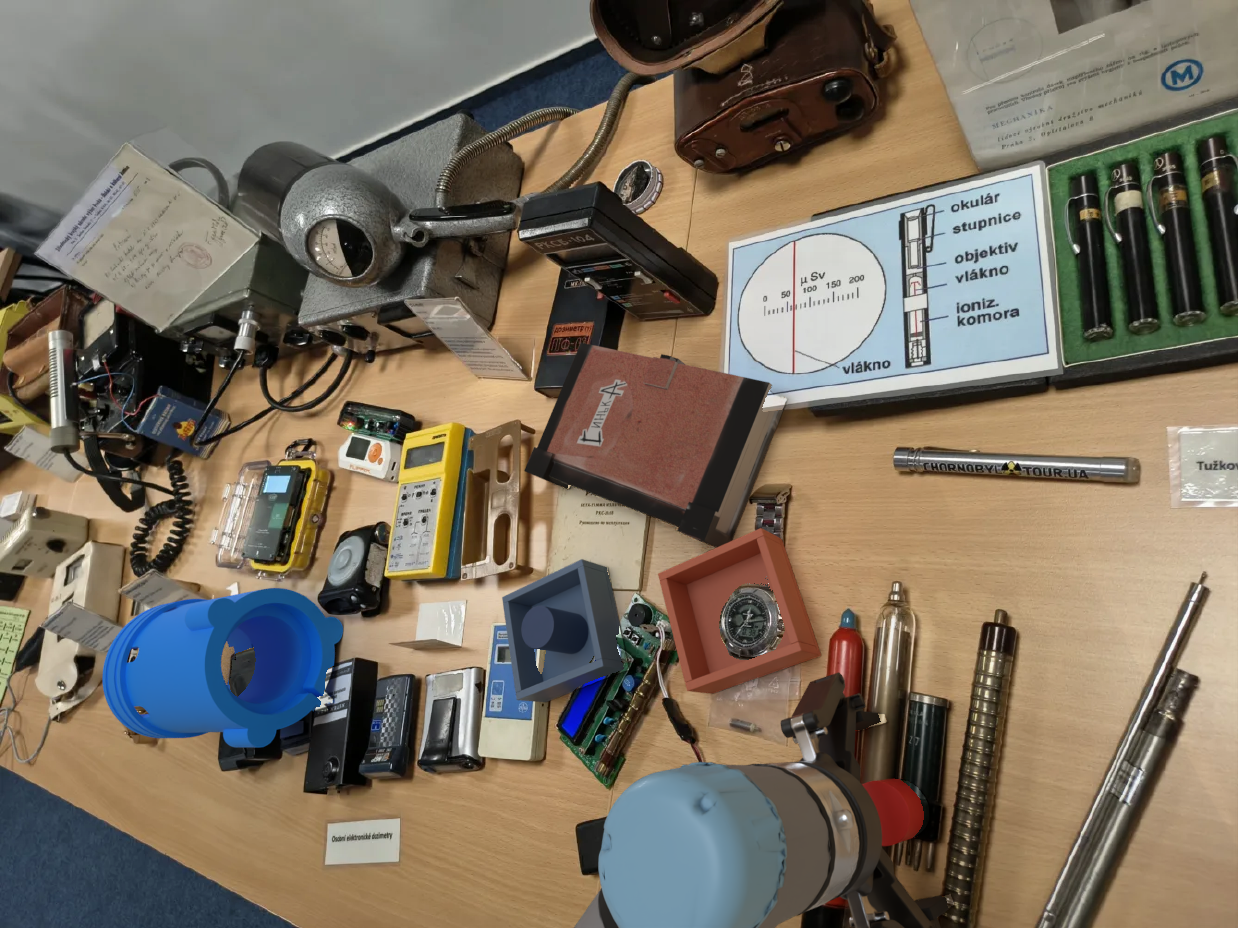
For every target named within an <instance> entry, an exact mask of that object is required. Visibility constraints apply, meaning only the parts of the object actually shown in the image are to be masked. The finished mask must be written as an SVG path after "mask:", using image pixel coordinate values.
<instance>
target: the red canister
mask: <svg viewBox="0 0 1238 928" xmlns="http://www.w3.org/2000/svg"><path fill="white" fill-rule="evenodd" d="M900 779H901V778H899V779H895V778H887V779H879V780H871V781H870V780H869V781H867V782H865V783H861V784H862V785H863V787H864V788H865V789H866V790H867V792H868V793H869V795H870V797H871V798H872V800H873V802H874V804H875V806H876V809H877V812H878V815H879V818H880V822H881V828H882V847H890V846H894V845H896V844H900V843H902V842H905V841H908V840H911V839H914V838H915V837H914V836H915V835H916V834H917V833H918V832H919V830H920V829H921V827H922V825H923V820H924V811H923V806H922V804H921V800H920V798H919V797H918V796H917V794H916V793H915V792H914V791H913V790H912V789H911V788H910V786H908V785H907V784H906V783H904V782H903V781H901V780H900ZM913 837H914V838H913Z"/></svg>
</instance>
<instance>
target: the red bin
mask: <svg viewBox="0 0 1238 928" xmlns="http://www.w3.org/2000/svg"><path fill="white" fill-rule="evenodd" d="M657 576H658V578H659V579H658V580H659V583H660V588H661V592H662V597H663V600H664V604H665V608H666V612H667V616H668V620H669V624H670V628H671V632H672V636H673V640H674V644H675V648H676V653H677V656H678V657H677V658H678V660H679V665H680V668H681V669H680V670H681V673H682V676H683V681H684V684H685V689H686V691H687V692H693V693H700V694H701V693H702V694H709V695H712V694H716V693H718V692H721V691H724V690H727V689H730V688H732V687H736V686H739V685H741V684H744V683H747V682H750V681H753V680H755V679H758V678H762V677H765V676H768V675H770V674H773V673H775V672H779V671H781V670H785V669H788V668H791V667H793V666H796V665H799V664H802V663H804V662H807V661H810V660H814V659H816V658H819V657H821V656H822V653H821V651H820V647H819V644H818V641H817V638H816V636H815V632H814V629H813V627H812V624H811V621H810V619H809V618H810V617H809V615H808V612H807V609H806V606H805V604H804V601H803V597H802V594H801V592H800V589H799V586H798V583H797V579H796V576H795V573H794V570H793V568H792V565H791V562H790V559H789V556H788V552H787V550H786V548H785V544H784V542H783V539H782V538H781V537H779V536H777V535H775V534H774V533H772V532H770V531H768V530H766V529H764V528H762V527H760V528H757V529H756V530H753V531H751V532H748V533H746V534H744V535H742V536H740V537H738V538H734V539H733V540H732V541H731V542H728V543H726V544H724V545H722V546H719V547H714V548H713V549H710V550H707V551H706V552H703V553H702V554H699V555H697V556H694V557H693V558H690V559H688V560H686V561H683V562H681V563H679V564H676V565H674V566H672V567H670V568H667V569H666V570H663V571H661V572H658V573H657ZM766 576H767V577H766ZM765 578H766V579H765ZM767 579H768V580H767ZM745 583H746V584H747V583H748V584H749V583H750V584H754V583H755V584H759V585H760V584H761V583H762V584H761V585H763V584H764V585H763V586H765V584H766V585H767V584H768V583H769V584H768V587H769V586H770V588H769V589H771V591H772V590H773V592H774V595H775V598H776V601H777V604H778V607H779V610H780V614H781V617H782V620H783V623H784V626H785V632H784V634H783V637H782V640H781V642H780V644H778V646H777V648H776V650H774V651H771V652H768V653H766V654H763V655H760V656H757V657H755V658H752V659H749V660H739V659H736V658H734V657H733V656H730V655H729V653H728V650H727V648H726V646H725V644H724V643H723V641H722V639H721V636H720V629H719V621H720V615H721V611H722V608H723V606H724V605H725V603H726V602H727V601H728V599H729V597H730V595H732V593H733V592H734V591H735V589H737V588H738V587H739V586H741V585H742V584H745ZM755 584H754V585H755Z"/></svg>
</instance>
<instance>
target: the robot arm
mask: <svg viewBox="0 0 1238 928" xmlns="http://www.w3.org/2000/svg"><path fill="white" fill-rule="evenodd" d="M845 689H846V681H845V678H844V676H843V675H842V673H840V672H835V673H832V674H830V675H825V676H823V677H820V678H818V679H817V678H816V679H815V680H811V681H810V682H809V683H808V684H807V687H806V688H805V690H804V692H803V694H802V696H801V698H800V700H799V701H798V704H797V706H796V707H795V709H794V711H793V713H792V715H791V716H790V717H787V718H784V719H781V720H780V730H781V732H782V734H783V736H784V737H785V738H786V739H789V738H792V741H793V743H794V744H795V745H797V744H798V747H799V751H800V752H801V755H802V757H801V758H800V760H799V761H798V760H797V761H783V762H767V763H751V764H723V763H716V762H712V761H709V762H707V761H696V762H691V763H689V764H682V765H681V766H680V767H676V768H670V769H666V770H660V771H655V772H652V773H650V774H647V775H645V776H642V777H641V778H639V779H637V780H636V781H634V782H632V784H630V785H629V786H628V787H627V788H625V790H624V791H622V793H620V795H619V796H618V797H617V799H616V800H615V801H614V803H613V804H612V806H611V808H610V810H609V812H608V814H607V815H606V818H605V820H604V824H603V829H604V830H603V833H602V841H601V847H600V851H599V853H598V865H597V866H598V869H597V870H598V875H599V882H600V889H599V890H598V892H597V894H596V895H595V896H594V898H593V899H592V900H591V902H590V904H589V905H588V906H587V908H586V909H585V911H584V912H583V914H582V915H581V916H580V918H579V919H578V921H577V922H576V924H575V925H574V927H573V928H777V926H779V925H781V924H782V923H785V922H787V921H788V920H790V919H792V918H794V917H798V916H801V915H802V914H804V913H806V912H809V911H810V910H813V909H817V908H819V907H820V906H823V905H825V904H827V903H828V902H831V901H834V900H836V899H838V898H841V899H843V900H847V902H848V906H849V911H850V914H851V916H850V917H849V919H848V923H849V925H850V926H847V927H846V928H942V927H941V923H940V921H939V919H938V918H939V917H941V916H942V915H943V914H944V913H946V912H947V911H949V910H950V909H949V908H948V906H947V901H946V898H945V897H942V896H941V895H942V894H940V895H935V896H929V897H924V898H919V899H915V900H914V898H913V897H912V896H911V894H910V893H909V892H908V890H907V889H906V888H905V887H904V885H903V884H902V882H901V881H900V880H899V879H898V877H897V876H896V875H895V867H894V862H893V860H892V858H891V857H890V856H889V854H888V853H887V852H886V850H885V849H884V848H883V846H882V828H881V822H880V818H879V815H878V812H877V809H876V806H875V804H874V802H873V800H872V798H871V797H870V795H869V793H868V792H867V790H866V789H865V788H864V787H863V785H862V784H863V783H861V765H860V764H859V762H858V760H857V759H856V757H855V751H856V750H855V749H856V731H855V730H862V731H864V730H863V729H865V730H867V729H866V728H868V727H869V726H871V725H874V724H877V723H879V722H881V721H880V718H879V715H878V713H879V712H876V711H875V712H874V711H867V710H866V711H865V710H864V708H865V709H866V707H867V706H866V702H865V699H864V697H863V695H862V694H861V693H860V692H858V693H855V694H852V695H849V696H846V695H845V693H844V691H845ZM868 729H869V728H868Z"/></svg>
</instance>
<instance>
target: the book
mask: <svg viewBox="0 0 1238 928" xmlns="http://www.w3.org/2000/svg"><path fill="white" fill-rule="evenodd" d="M771 386H772V387H773V384H772V383H771V382H769V381H764V380H760V379H759V380H758V379H755V378H750V377H745V376H740V375H735V374H731V373H726V372H721V371H717V370H711V369H709V368H708V369H707V368H703V367H698V366H694V365H688V364H686V363H684V361H682V360H681V359H680V358H677V357H673V356H671V355H668V354H663V353H661V354H660V357H656V356H653V357H651V356H646V355H641V354H637V353H631V352H627V351H623V350H618V349H613V348H609V347H604V346H599V345H594V344H591V343H590V344H589V343H584V342H580V343H579V345H578V348H577V351H576V353H575V356H574V357H573V360H572V362H571V365H570V368H569V370H568V372H567V375H566V377H565V380H564V381H563V385H562V387H561V389H560V391H559V394H558V396H557V399H556V400H555V403H554V406H553V408H552V411H551V413H550V415H549V417H548V420H547V422H546V425H545V428H544V430H543V432H542V435H541V437H540V440H539V441H538V444H537V447H536V446H533V448H532V451H531V453H530V456H529V459H528V461H527V463H526V465H525V468H524V470H523V471H524V472H525V473H528V474H530V475H532V476H535V477H537V478H538V479H541V480H544V481H546V482H548V483H551V484H554V485H556V486H559V487H561V488H563V487H564V488H563V489H566V490H568V489H567V488H568V485H571V487H574V488H576V487H577V488H576V489H579V490H581V489H582V491H584V492H586V493H589V494H592V495H594V494H595V495H594V496H597V497H600V498H602V499H605V500H607V499H608V501H610V502H612V501H613V502H612V503H615V504H617V505H620V504H621V506H623V507H625V506H626V508H628V509H631V510H633V509H634V511H636V512H638V511H639V513H640V514H641V513H642V514H644V515H645V516H649V517H651V518H654V519H657V520H659V521H661V522H665V523H668V524H670V525H672V526H674V527H678V529H677V532H679V533H681V534H683V535H686V536H688V537H690V538H691V539H694V540H697V541H699V542H702V543H705V544H707V545H709V546H712V547H714V548H717V547H719V546H722V545H724V544H726V543H728V542H731V541H733V540H734V538H735V534H736V532H737V529H738V527H739V524H740V522H741V519H742V517H743V514H744V512H745V509H746V507H747V504H748V502H749V499H750V496H751V494H752V491H753V489H754V486H755V484H756V481H757V478H758V476H759V474H760V471H761V468H762V466H763V463H764V462H765V461H764V460H765V458H766V456H767V454H768V453H767V452H768V450H769V448H770V445H771V443H772V440H773V438H774V435H775V432H776V430H777V428H778V425H779V422H780V420H781V417H782V414H783V412H784V410H778V411H768V412H763V411H762V410H763V408H762V407H763V404H764V402H765V398H766V397H767V394H768V392H769V390H770V389H771V390H772V387H771ZM771 390H770V391H771Z"/></svg>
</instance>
